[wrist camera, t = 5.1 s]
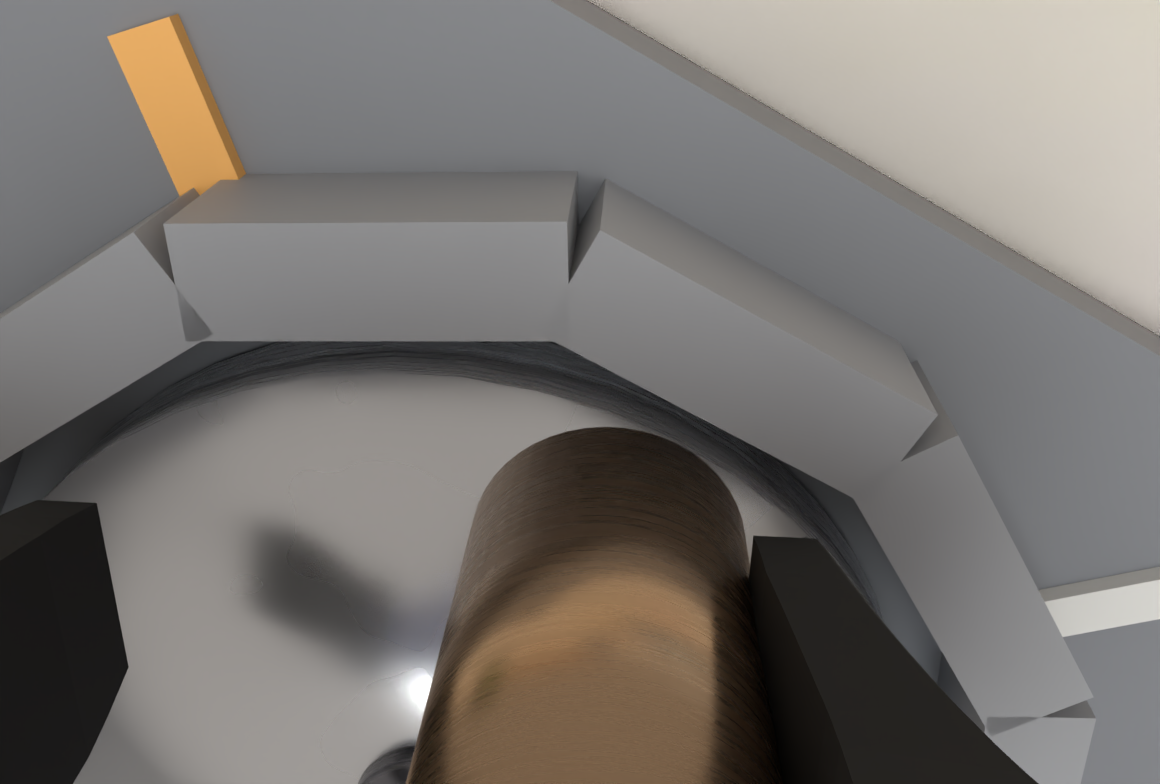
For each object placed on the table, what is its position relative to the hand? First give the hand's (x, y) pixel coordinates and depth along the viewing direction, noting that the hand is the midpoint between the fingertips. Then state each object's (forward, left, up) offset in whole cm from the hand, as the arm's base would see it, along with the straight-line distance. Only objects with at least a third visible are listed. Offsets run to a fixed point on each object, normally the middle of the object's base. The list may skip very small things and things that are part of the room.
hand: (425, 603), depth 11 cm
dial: (-4, -2, -3) cm, 5 cm away
